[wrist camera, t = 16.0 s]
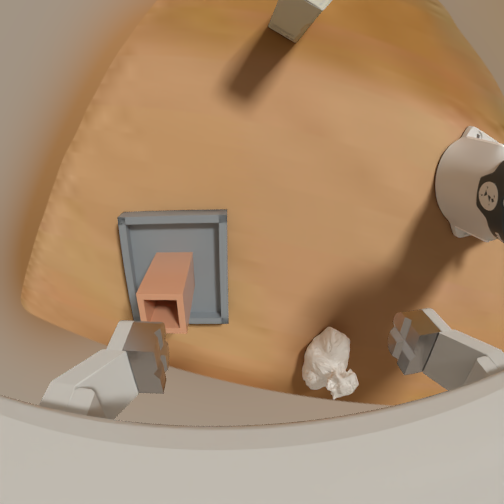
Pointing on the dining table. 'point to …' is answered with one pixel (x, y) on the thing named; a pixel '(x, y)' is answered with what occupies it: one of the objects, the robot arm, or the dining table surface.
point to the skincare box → (295, 16)
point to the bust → (329, 364)
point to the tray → (180, 240)
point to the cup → (168, 291)
